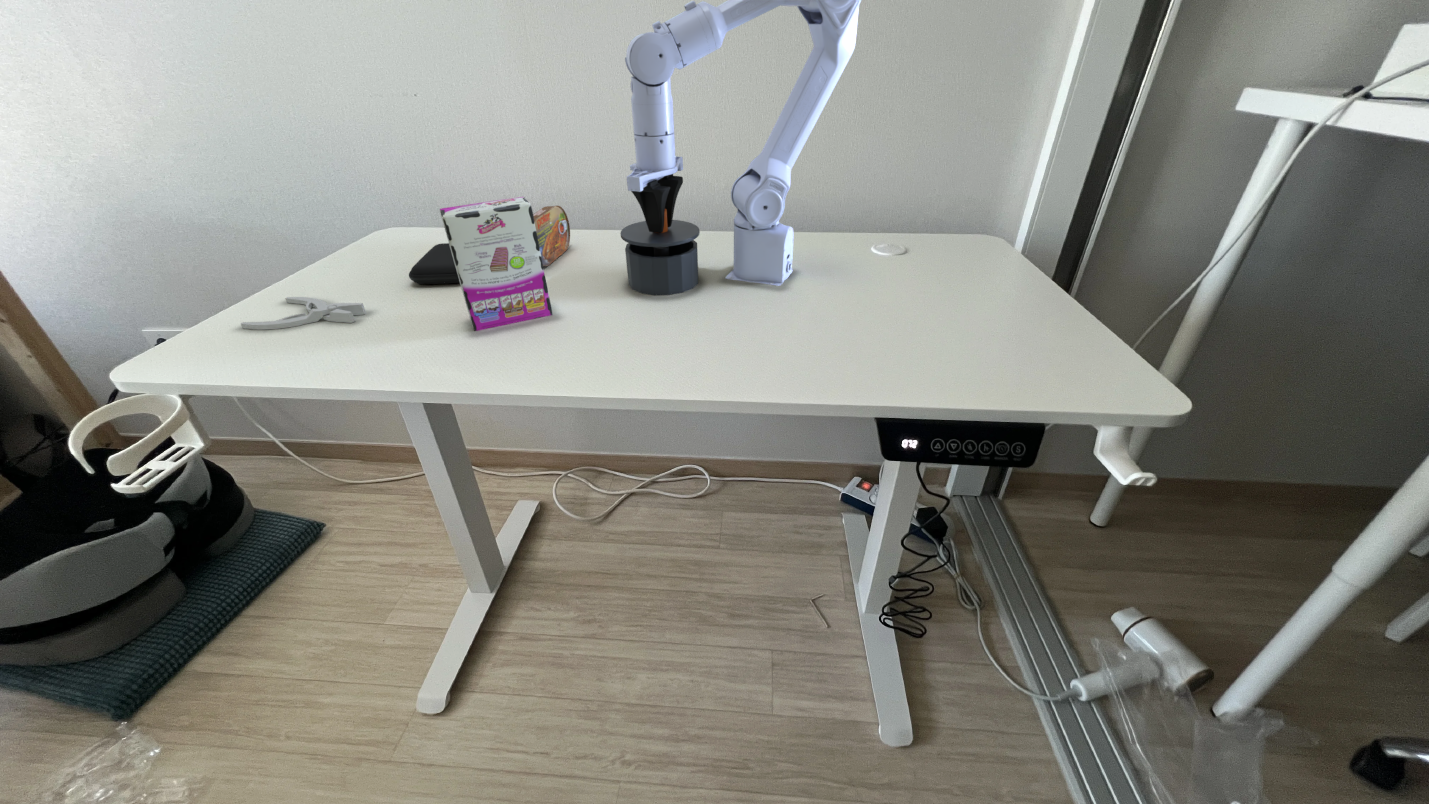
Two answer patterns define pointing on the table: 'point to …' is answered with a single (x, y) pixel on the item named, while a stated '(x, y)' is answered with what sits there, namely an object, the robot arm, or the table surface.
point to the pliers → (312, 314)
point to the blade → (661, 251)
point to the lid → (660, 234)
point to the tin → (552, 232)
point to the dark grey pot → (662, 269)
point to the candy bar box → (498, 261)
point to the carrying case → (435, 267)
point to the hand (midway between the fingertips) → (660, 228)
